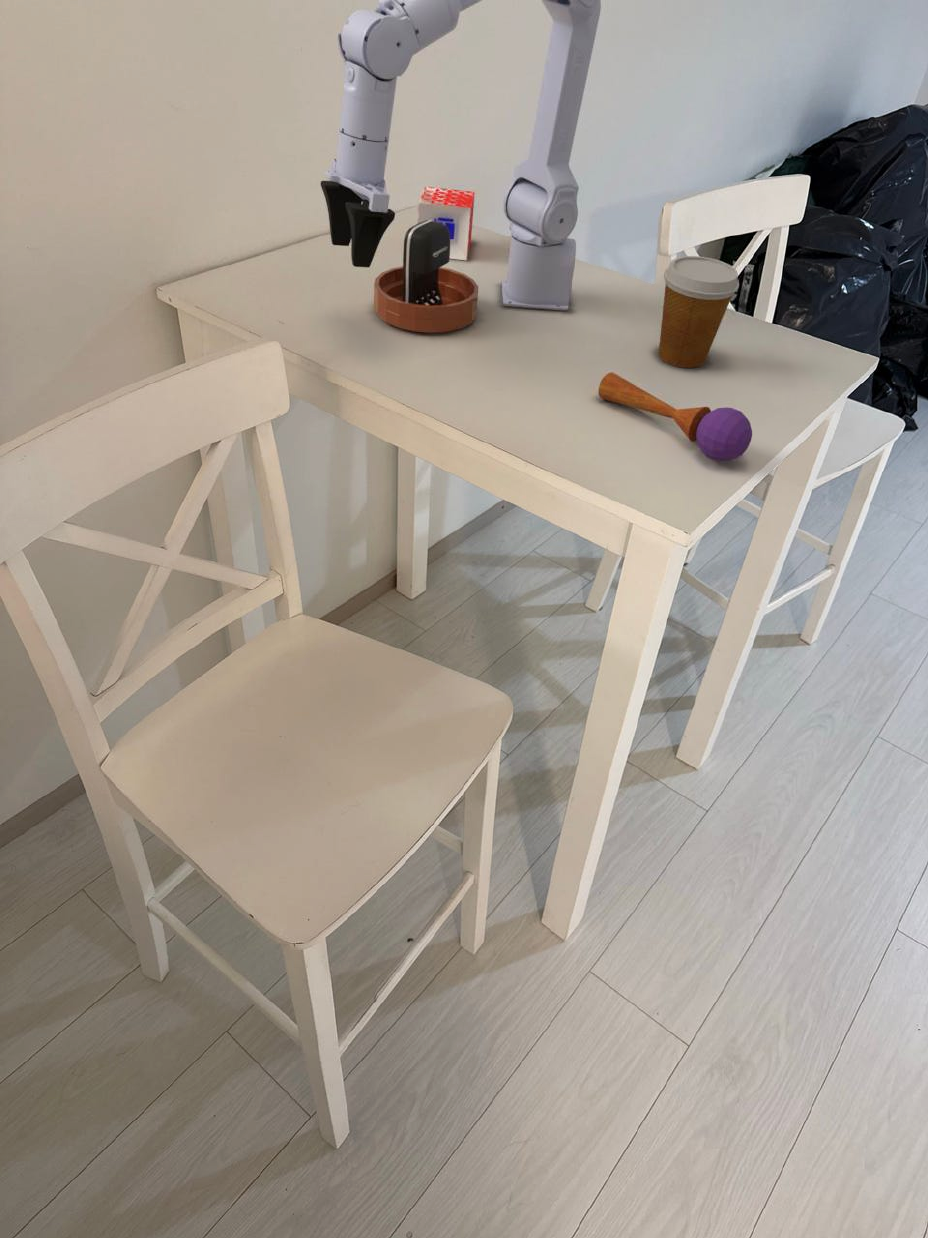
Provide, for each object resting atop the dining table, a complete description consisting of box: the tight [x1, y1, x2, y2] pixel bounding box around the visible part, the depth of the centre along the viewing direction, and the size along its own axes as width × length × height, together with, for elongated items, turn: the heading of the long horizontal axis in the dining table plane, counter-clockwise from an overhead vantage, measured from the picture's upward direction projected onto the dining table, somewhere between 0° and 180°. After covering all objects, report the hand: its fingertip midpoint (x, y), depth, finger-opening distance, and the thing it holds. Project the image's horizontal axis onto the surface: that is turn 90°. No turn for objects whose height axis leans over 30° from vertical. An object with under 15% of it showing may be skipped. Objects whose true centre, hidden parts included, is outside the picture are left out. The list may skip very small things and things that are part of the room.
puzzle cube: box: [417, 186, 476, 261], centre depth 143 cm, size 8×8×8 cm
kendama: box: [597, 371, 753, 462], centre depth 106 cm, size 6×6×20 cm
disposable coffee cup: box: [658, 255, 740, 369], centre depth 118 cm, size 10×10×12 cm
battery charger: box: [402, 220, 450, 306], centre depth 123 cm, size 7×4×11 cm, turn 149°
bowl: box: [373, 265, 479, 333], centre depth 126 cm, size 14×14×4 cm
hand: (350, 255), depth 113 cm, fingers open, 7 cm apart
